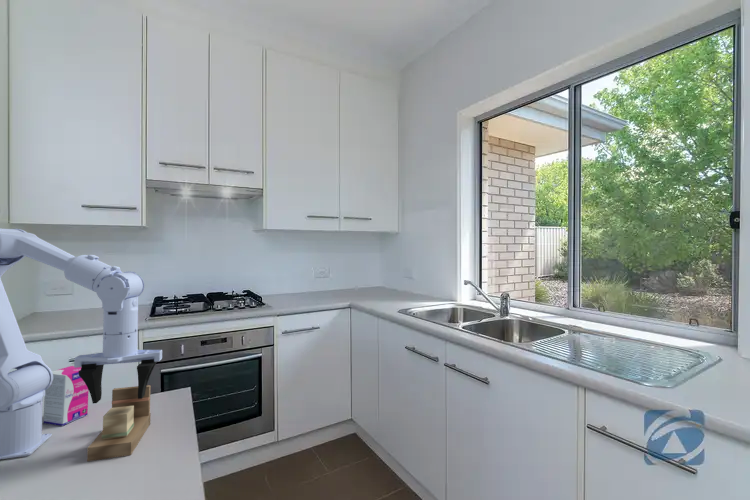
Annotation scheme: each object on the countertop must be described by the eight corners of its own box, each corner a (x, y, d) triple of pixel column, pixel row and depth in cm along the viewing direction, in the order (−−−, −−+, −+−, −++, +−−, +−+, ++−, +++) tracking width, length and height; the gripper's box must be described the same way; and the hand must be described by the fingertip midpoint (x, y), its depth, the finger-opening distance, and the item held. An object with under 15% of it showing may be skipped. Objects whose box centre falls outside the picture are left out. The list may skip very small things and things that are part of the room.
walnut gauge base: (87, 461, 66) (88, 413, 66) (114, 428, 78) (115, 387, 78) (130, 455, 68) (131, 408, 68) (150, 423, 80) (151, 384, 80)
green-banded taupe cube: (101, 440, 68) (102, 416, 68) (110, 429, 72) (110, 407, 72) (127, 436, 70) (127, 414, 70) (134, 426, 74) (134, 405, 74)
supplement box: (63, 426, 78) (64, 375, 78) (42, 423, 79) (43, 373, 80) (89, 415, 84) (90, 367, 84) (69, 412, 85) (70, 365, 85)
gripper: (66, 338, 65) (65, 412, 65) (156, 334, 70) (155, 402, 70) (84, 330, 72) (83, 397, 72) (165, 326, 76) (164, 389, 76)
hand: (119, 399), depth 71 cm, fingers open, 7 cm apart
